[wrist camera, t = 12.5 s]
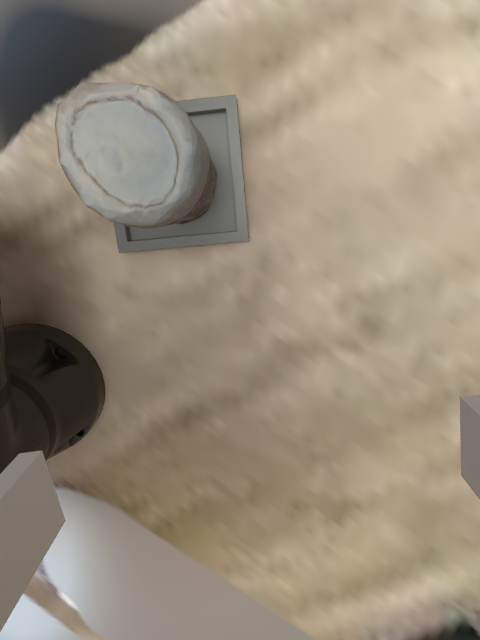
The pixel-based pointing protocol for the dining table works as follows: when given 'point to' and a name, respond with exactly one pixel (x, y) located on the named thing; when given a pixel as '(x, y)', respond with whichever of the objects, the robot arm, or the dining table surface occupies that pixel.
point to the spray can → (134, 155)
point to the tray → (229, 197)
